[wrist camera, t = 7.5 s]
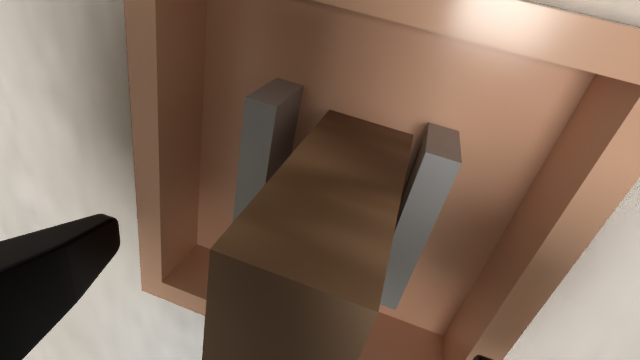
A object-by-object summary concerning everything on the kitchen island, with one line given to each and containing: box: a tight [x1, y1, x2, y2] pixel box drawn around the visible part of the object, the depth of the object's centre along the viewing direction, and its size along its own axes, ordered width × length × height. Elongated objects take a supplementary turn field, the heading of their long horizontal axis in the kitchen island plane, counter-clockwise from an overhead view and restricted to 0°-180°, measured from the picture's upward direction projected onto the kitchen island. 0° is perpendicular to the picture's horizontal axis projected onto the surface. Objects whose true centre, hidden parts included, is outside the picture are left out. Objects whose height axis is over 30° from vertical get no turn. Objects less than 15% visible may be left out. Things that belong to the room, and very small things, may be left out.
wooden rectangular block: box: [202, 109, 413, 360], centre depth 11 cm, size 3×5×8 cm, turn 168°
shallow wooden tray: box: [124, 0, 640, 360], centre depth 14 cm, size 14×14×4 cm
